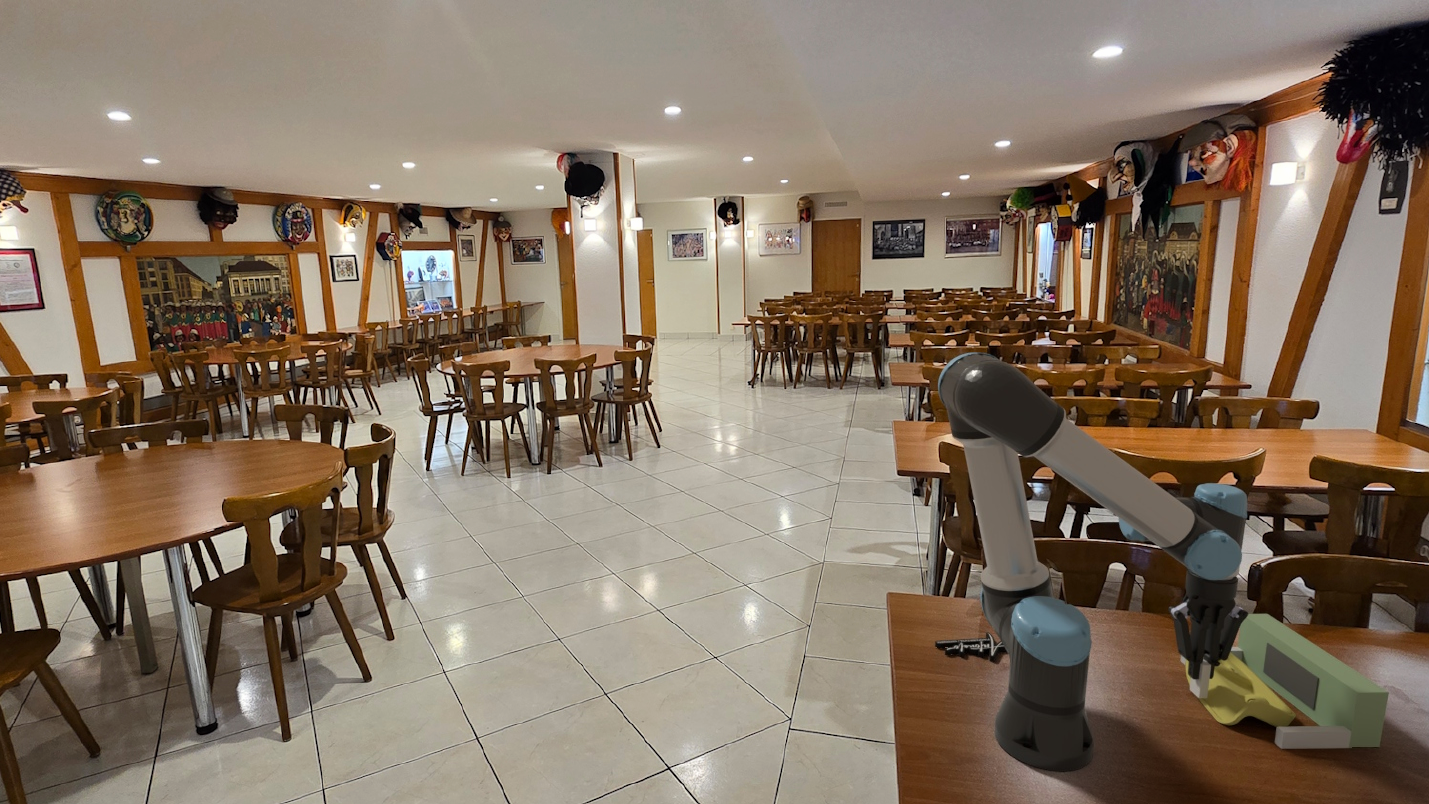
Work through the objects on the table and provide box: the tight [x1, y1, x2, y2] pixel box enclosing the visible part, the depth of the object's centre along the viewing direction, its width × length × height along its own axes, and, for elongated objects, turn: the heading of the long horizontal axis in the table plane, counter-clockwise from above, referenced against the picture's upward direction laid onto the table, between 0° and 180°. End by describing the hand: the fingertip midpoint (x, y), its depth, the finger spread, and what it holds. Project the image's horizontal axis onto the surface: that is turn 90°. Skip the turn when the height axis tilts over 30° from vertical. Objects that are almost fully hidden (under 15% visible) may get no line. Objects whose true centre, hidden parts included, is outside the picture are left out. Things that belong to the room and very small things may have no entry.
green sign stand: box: [1179, 613, 1390, 750], centre depth 134 cm, size 16×27×10 cm, turn 0°
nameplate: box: [934, 632, 1008, 663], centre depth 154 cm, size 27×2×10 cm
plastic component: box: [1184, 650, 1297, 728], centre depth 136 cm, size 20×7×10 cm
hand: (1198, 693), depth 135 cm, fingers closed
